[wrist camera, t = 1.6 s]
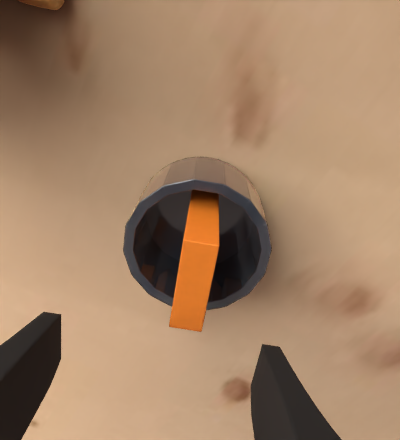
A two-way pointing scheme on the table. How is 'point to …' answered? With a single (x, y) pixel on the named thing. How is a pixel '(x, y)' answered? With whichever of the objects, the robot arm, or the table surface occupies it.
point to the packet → (196, 262)
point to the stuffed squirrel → (45, 3)
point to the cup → (176, 222)
